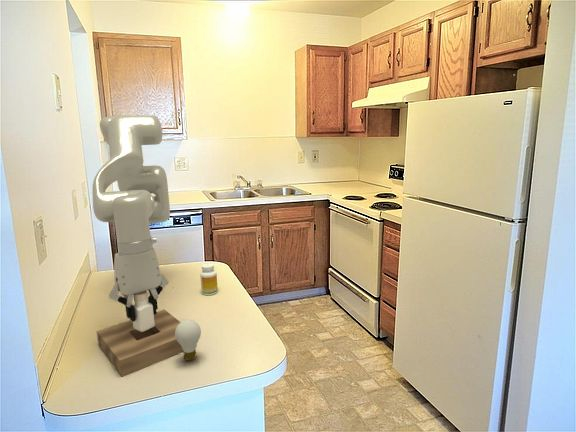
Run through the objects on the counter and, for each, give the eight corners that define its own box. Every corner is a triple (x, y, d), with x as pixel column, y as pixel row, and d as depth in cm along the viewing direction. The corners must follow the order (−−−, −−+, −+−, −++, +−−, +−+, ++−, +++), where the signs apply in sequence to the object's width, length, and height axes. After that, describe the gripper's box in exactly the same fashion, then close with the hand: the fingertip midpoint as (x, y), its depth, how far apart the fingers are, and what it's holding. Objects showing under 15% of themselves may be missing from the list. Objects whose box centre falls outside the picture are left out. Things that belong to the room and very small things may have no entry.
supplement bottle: (220, 293, 131) (218, 265, 129) (205, 297, 128) (203, 269, 126) (213, 288, 135) (212, 261, 133) (199, 292, 132) (197, 264, 130)
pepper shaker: (146, 322, 101) (142, 288, 99) (156, 326, 98) (152, 291, 96) (132, 329, 97) (128, 293, 95) (142, 333, 95) (138, 297, 93)
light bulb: (179, 369, 89) (175, 329, 86) (176, 356, 94) (172, 318, 92) (205, 362, 91) (202, 323, 89) (200, 350, 96) (197, 313, 94)
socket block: (98, 345, 100) (96, 331, 99) (165, 322, 111) (164, 309, 110) (121, 376, 87) (119, 360, 86) (195, 346, 98) (193, 332, 97)
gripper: (162, 236, 102) (168, 301, 105) (92, 250, 91) (102, 322, 95) (174, 242, 96) (181, 310, 100) (102, 257, 85) (112, 333, 89)
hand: (142, 315), depth 97 cm, fingers closed on pepper shaker, 4 cm apart
